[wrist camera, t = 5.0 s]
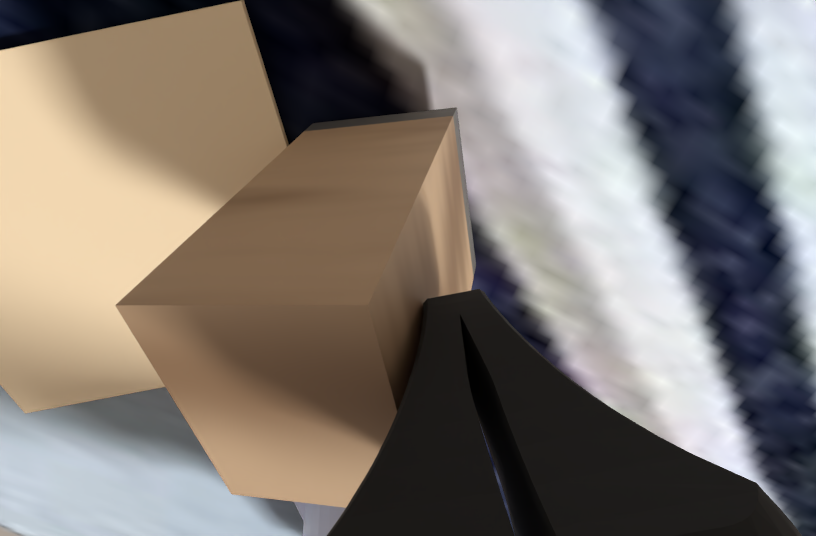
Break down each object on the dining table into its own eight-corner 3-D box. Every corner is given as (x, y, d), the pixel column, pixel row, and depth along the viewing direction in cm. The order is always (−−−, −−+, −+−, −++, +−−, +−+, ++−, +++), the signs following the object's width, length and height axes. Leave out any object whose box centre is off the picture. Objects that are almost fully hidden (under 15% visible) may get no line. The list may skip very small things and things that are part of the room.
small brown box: (476, 265, 19) (426, 517, 11) (353, 267, 21) (231, 494, 13) (456, 107, 16) (368, 305, 8) (312, 123, 17) (115, 305, 9)
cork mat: (351, 345, 23) (351, 351, 22) (29, 406, 23) (24, 413, 23) (243, -1, 15) (240, 0, 15) (-232, 98, 16) (-245, 101, 15)
